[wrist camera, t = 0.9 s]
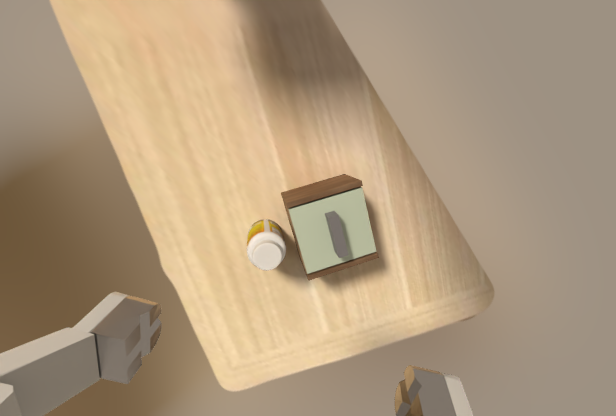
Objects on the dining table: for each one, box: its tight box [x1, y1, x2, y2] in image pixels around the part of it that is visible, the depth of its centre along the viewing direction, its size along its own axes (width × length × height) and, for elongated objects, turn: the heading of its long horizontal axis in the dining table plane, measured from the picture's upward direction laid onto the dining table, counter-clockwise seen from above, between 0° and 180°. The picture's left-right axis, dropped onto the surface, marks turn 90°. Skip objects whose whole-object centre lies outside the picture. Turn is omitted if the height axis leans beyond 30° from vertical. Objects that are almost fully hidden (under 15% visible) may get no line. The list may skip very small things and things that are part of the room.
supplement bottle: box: [247, 219, 286, 270], centre depth 47 cm, size 6×6×10 cm
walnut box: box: [281, 174, 379, 280], centre depth 48 cm, size 12×11×9 cm
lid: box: [288, 187, 377, 274], centre depth 44 cm, size 10×11×3 cm
